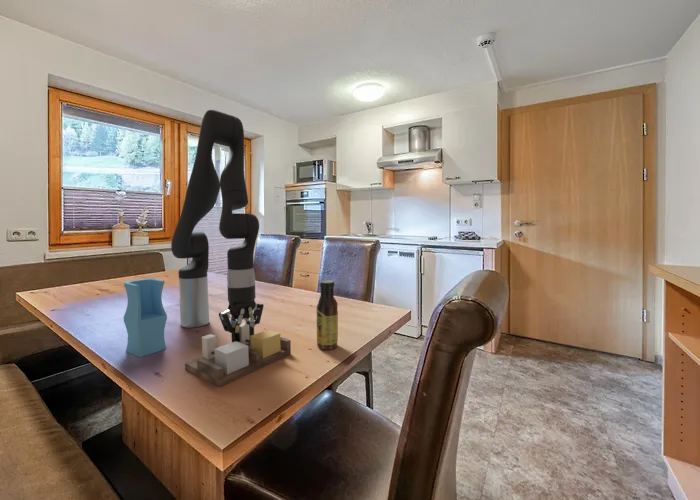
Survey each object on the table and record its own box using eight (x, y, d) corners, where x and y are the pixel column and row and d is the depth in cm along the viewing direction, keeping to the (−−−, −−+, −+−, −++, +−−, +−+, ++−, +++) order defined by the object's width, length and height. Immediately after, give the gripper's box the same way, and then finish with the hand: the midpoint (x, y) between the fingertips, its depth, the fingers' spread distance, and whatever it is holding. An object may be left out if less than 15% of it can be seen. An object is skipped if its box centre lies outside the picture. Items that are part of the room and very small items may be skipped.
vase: (139, 357, 88) (135, 285, 86) (125, 351, 92) (121, 282, 90) (168, 347, 94) (164, 280, 93) (154, 342, 99) (150, 278, 97)
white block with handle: (196, 359, 83) (195, 338, 83) (217, 351, 88) (216, 332, 87) (227, 374, 75) (226, 351, 75) (248, 365, 80) (248, 343, 79)
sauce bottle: (316, 342, 98) (316, 278, 96) (337, 342, 99) (337, 278, 97) (316, 351, 92) (315, 283, 90) (338, 350, 92) (338, 282, 90)
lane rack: (185, 368, 81) (184, 353, 81) (256, 342, 99) (256, 329, 99) (218, 386, 72) (218, 369, 72) (290, 353, 90) (290, 340, 90)
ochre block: (231, 346, 92) (230, 326, 91) (249, 339, 96) (248, 321, 96) (263, 358, 84) (262, 337, 83) (280, 350, 88) (280, 330, 88)
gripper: (253, 278, 99) (255, 332, 101) (210, 286, 88) (213, 347, 90) (269, 281, 95) (271, 337, 97) (226, 290, 84) (229, 353, 85)
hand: (243, 341), depth 93 cm, fingers open, 4 cm apart
